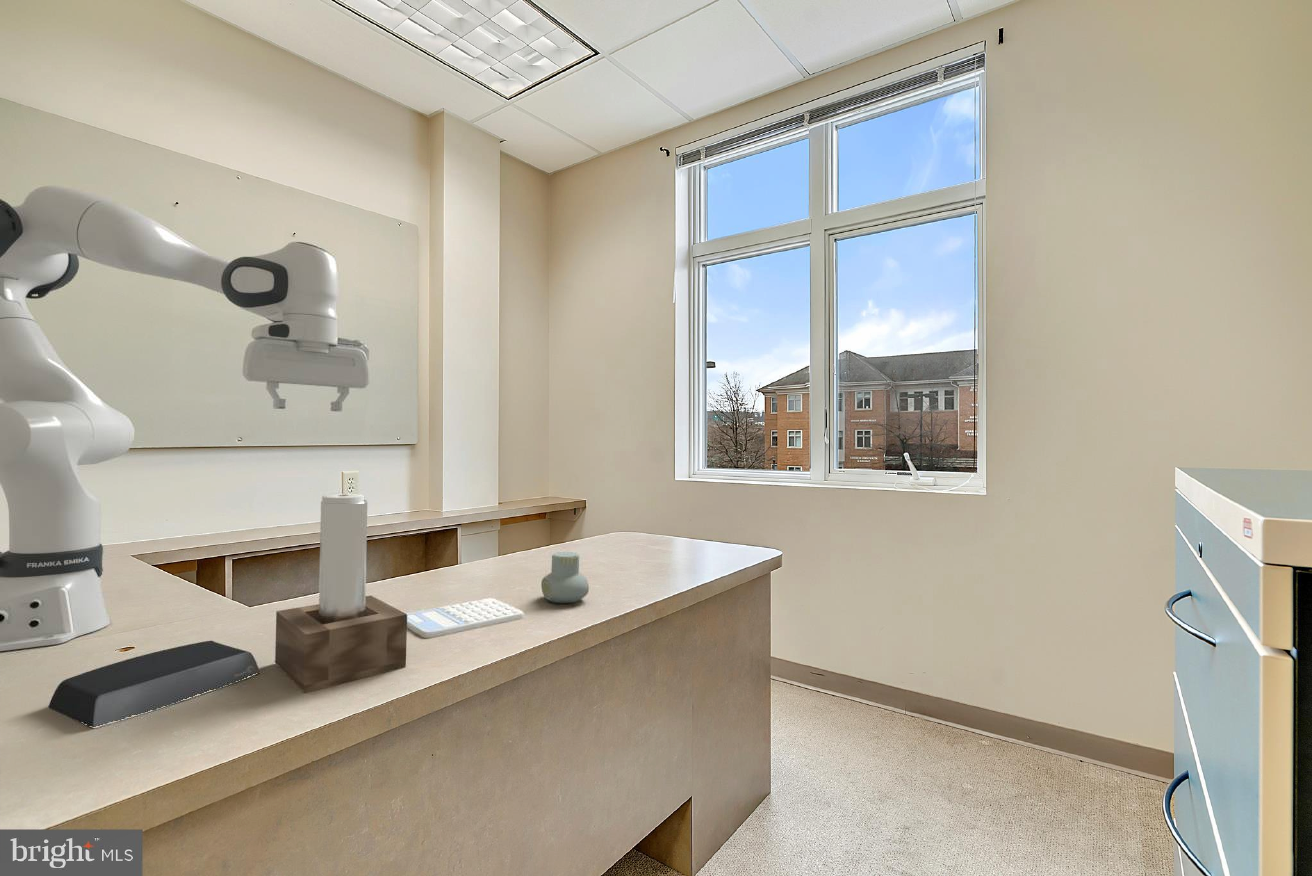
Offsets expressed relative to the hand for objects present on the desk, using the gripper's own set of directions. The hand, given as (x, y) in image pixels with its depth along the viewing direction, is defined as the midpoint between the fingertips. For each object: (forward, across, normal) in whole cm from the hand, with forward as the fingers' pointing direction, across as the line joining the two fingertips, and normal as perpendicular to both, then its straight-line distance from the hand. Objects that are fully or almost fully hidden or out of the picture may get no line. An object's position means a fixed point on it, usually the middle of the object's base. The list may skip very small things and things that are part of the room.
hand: (308, 410), depth 112 cm
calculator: (+40, -23, +16) cm, 49 cm away
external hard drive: (+40, +23, +18) cm, 49 cm away
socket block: (+39, +2, +25) cm, 46 cm away
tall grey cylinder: (+38, +2, +25) cm, 46 cm away
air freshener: (+39, -46, +18) cm, 63 cm away
